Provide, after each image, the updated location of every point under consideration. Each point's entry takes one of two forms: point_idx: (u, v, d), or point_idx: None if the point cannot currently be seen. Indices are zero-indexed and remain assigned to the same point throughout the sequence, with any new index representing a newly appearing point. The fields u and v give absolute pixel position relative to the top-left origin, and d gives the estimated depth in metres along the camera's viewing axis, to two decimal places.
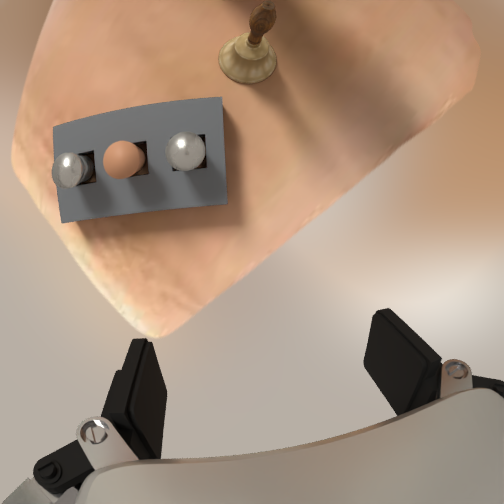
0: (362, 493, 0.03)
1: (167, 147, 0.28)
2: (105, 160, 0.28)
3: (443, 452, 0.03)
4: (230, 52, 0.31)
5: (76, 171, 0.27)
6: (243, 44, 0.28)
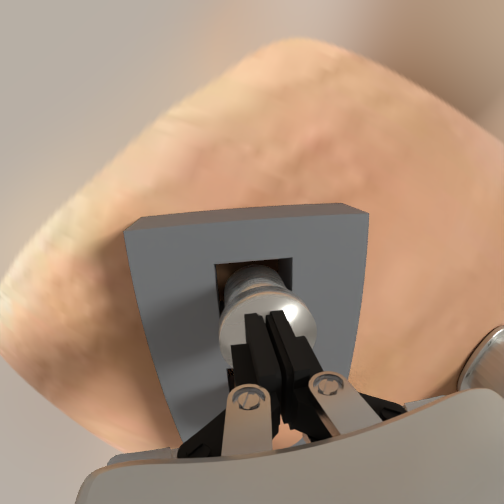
0: (362, 493, 0.03)
1: None
2: None
3: (443, 452, 0.03)
4: None
5: None
6: None
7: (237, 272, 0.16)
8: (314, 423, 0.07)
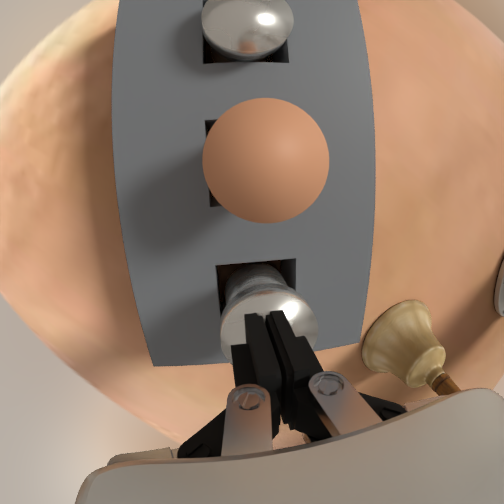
0: (362, 493, 0.03)
1: (285, 299, 0.12)
2: (272, 106, 0.09)
3: (443, 452, 0.03)
4: (419, 329, 0.20)
5: (241, 40, 0.10)
6: (434, 362, 0.18)
7: None
8: (313, 423, 0.07)
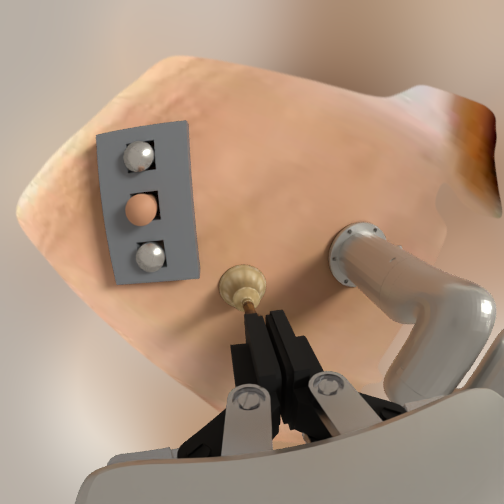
0: (362, 493, 0.03)
1: (151, 245, 0.40)
2: (140, 196, 0.36)
3: (443, 452, 0.03)
4: (243, 279, 0.46)
5: (136, 167, 0.36)
6: (245, 295, 0.44)
7: None
8: (314, 423, 0.07)
